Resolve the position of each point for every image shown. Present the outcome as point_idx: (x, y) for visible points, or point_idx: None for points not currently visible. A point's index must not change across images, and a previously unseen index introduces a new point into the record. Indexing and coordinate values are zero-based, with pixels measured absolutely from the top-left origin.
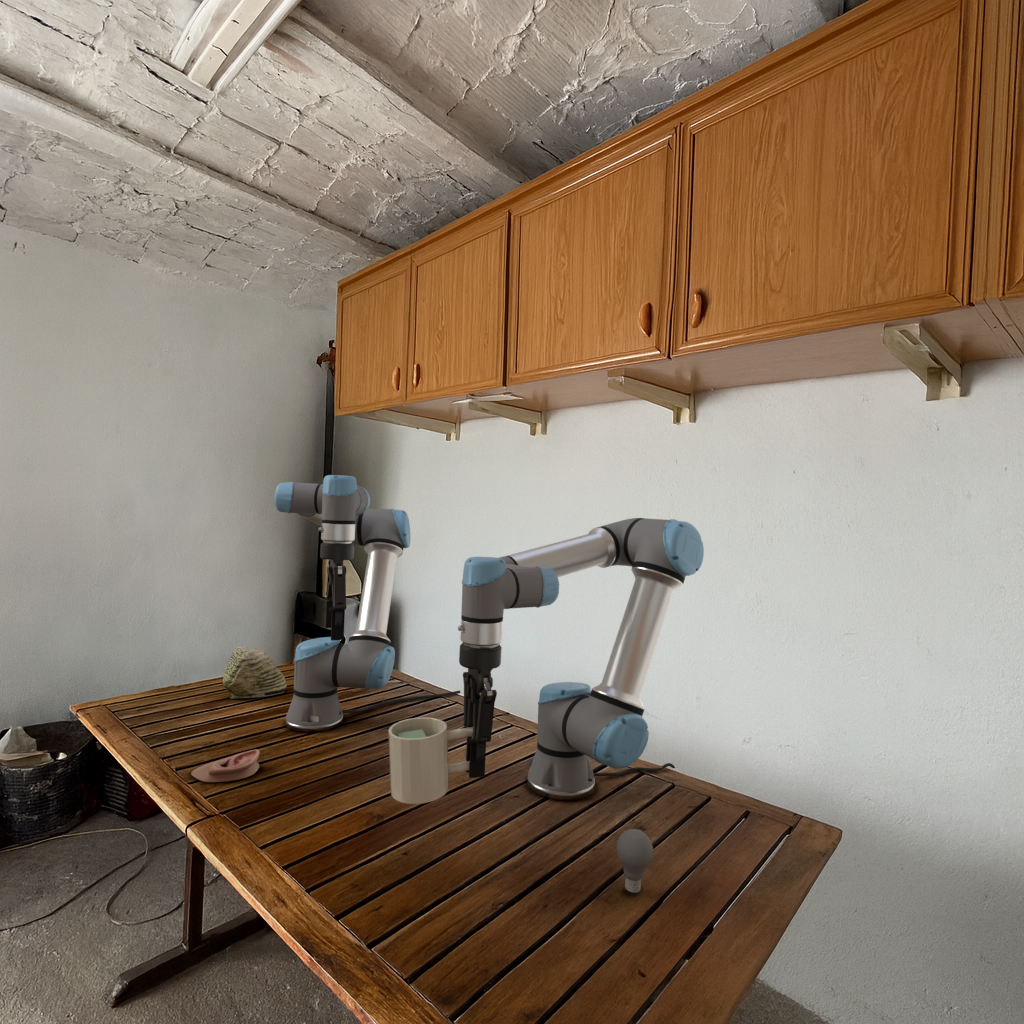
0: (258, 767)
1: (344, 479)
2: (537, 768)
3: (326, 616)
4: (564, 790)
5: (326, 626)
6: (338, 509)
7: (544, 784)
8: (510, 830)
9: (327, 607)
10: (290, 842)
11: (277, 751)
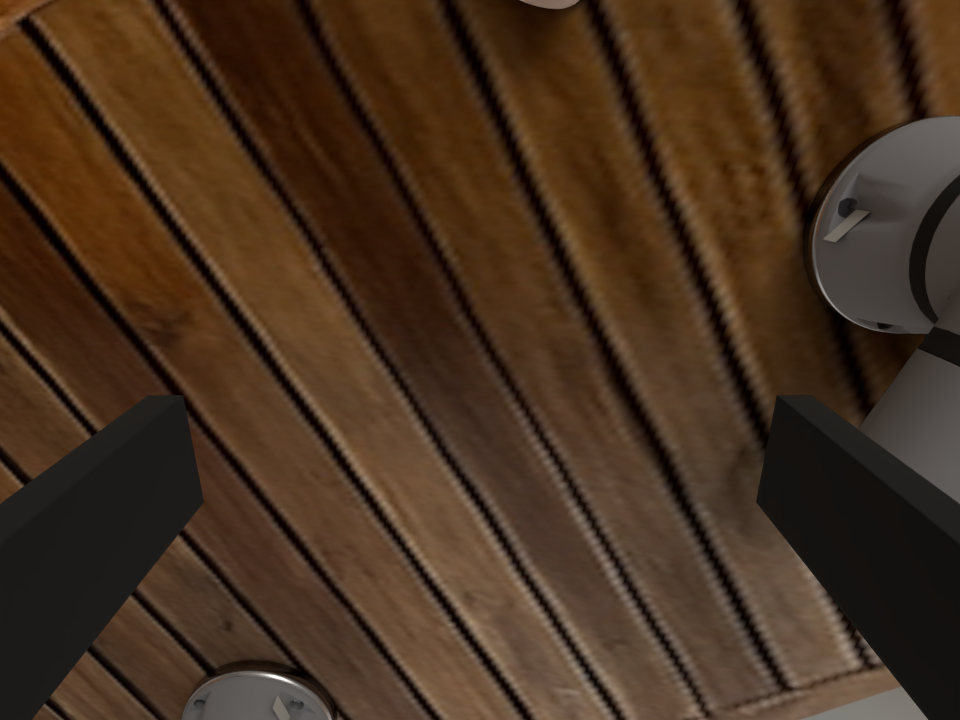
0: (540, 5)
1: None
2: (223, 713)
3: (856, 465)
4: (182, 716)
5: (784, 409)
6: None
7: (205, 694)
8: None
9: (952, 558)
10: (49, 103)
11: (680, 79)
